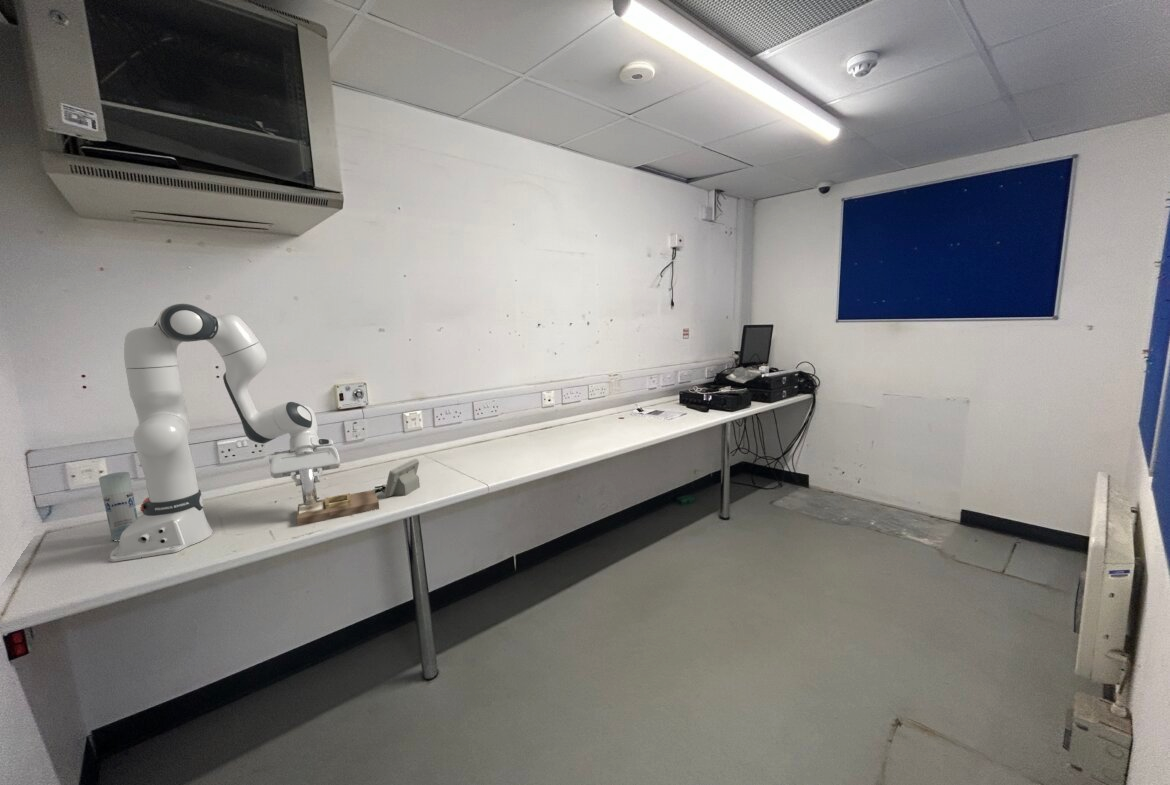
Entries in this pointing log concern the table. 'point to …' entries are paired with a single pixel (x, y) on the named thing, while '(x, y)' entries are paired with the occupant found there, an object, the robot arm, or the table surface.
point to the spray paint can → (118, 502)
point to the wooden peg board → (337, 507)
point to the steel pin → (308, 486)
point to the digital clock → (403, 479)
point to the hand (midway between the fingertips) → (307, 483)
